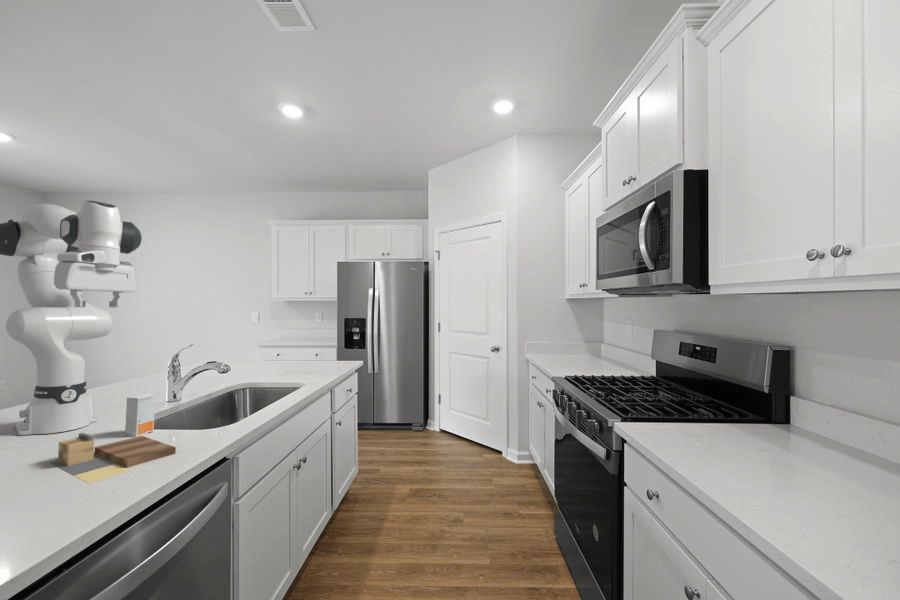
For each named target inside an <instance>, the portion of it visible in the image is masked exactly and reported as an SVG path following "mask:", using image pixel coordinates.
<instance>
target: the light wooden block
mask: <svg viewBox="0 0 900 600" xmlns="http://www.w3.org/2000/svg"><path fill="white" fill-rule="evenodd" d="M57 452H58V453H57V455H58V457H57V460H58V461H59V462H61V463H63V464H65V465H67V466H71V465H75V464H78V463H82V462H86V461H90V460H94V455H95V454H94V453H95V439H94V436H92V435H89V434H87V433H85V432H80V433H79V432H78V437H75V438H70V439H66V440H65V439H64V440H60V441H58V451H57Z"/></svg>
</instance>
